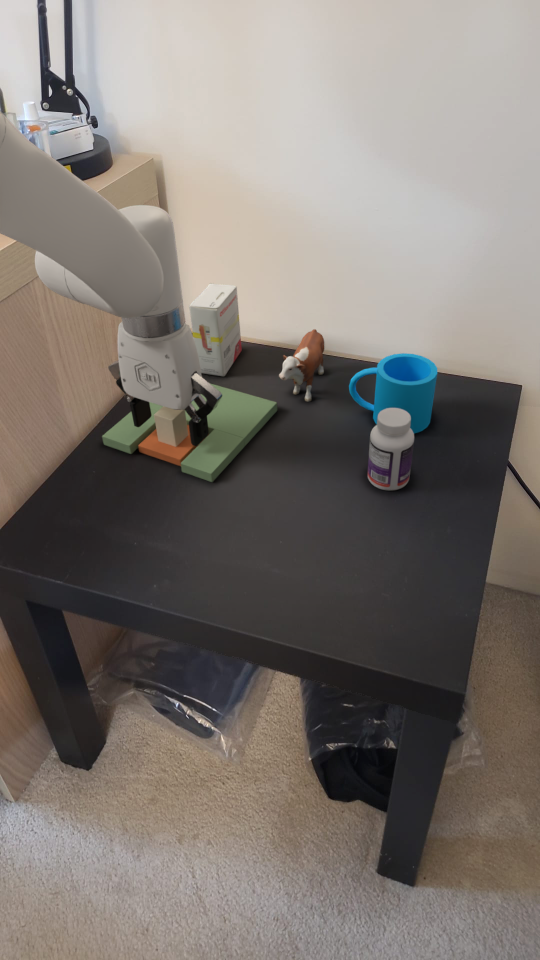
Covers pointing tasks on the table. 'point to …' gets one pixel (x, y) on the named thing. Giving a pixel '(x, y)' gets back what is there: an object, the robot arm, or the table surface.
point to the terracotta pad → (166, 449)
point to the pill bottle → (391, 450)
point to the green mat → (226, 437)
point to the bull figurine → (305, 362)
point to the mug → (401, 387)
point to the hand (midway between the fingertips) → (171, 430)
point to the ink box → (216, 328)
